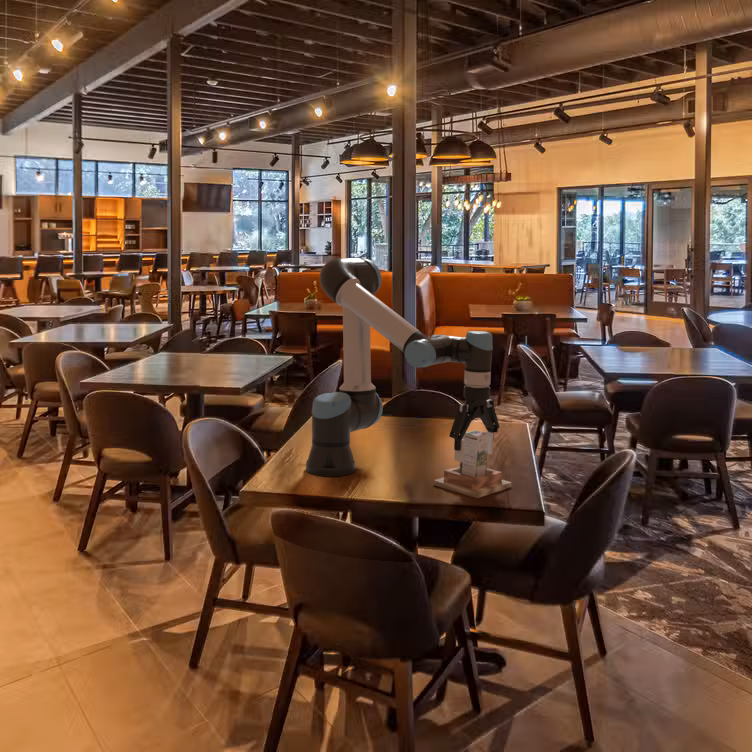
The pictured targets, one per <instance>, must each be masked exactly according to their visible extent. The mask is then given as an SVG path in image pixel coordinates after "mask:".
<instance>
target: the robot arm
mask: <svg viewBox="0 0 752 752" xmlns="http://www.w3.org/2000/svg"><path fill="white" fill-rule="evenodd" d="M318 279H319V285H320V288H321V289H322V291H323V292H324V293H325V295H326V296H327V297H328V298H329V299H330V300H331V301H333V302H334V303H335V304H337V305H338V306H339V307H342V331H343V332H342V336H343V337H342V338H343V339H342V340H343V342H342V343H343V347H342V348H343V349H342V350H343V351H342V352H343V383H342V384H341V385H340V387H339V389H338V390H339V391H335V392H334V391H332V392H330V393H329V392H325V393H321V394H319V395H317V396H316V397H315V398H314V399H313V401H312V408H311V415H312V416H311V420H312V421H311V447H310V448H311V449H310V451H309V454H308V457H307V460H306V462H305V471H306V472H307V473H309V474H311V475H314V476H320V477H342V476H348V475H351V474H353V473H354V472H355V471H356V463H355V460H354V456H353V453H352V448H351V433H353V432H355V431H359V430H366V429H368V428H370V427H371V426H374V425H376V423H378V421H379V420H380V419H381V417H382V414H383V411H384V410H383V405H384V404H383V401H382V398H381V397H379V396H380V395H379V394H378V393H377V392H376V391H377V388H376V386H375V385H374V384H373V383H372V373H371V372H372V371H371V370H372V367H371V366H372V364H371V363H372V361H371V358H372V357H371V356H372V355H371V354H372V353H371V351H372V350H371V328H372V329H374V330H375V331H376V332H378V333H379V334H380V335H381V336H382V337H384V338H385V339H386V340H388V342H391V344H393V346H395V347H397V348H398V349H399V350H400V351H401V352H403V353H404V357H405V360H406V361H407V363H408V364H409V365H410V366H411V367H413V368H427V367H430V366H433V365H439V364H445V363H456V364H457V363H460V364H464V377H463V378H464V379H463V384H464V386H463V398H464V399H465V403H464V404H462V403H459V404H458V405H457V412H456V414H455V417H454V420H453V424H452V426H451V429H450V432H449V438H452V439H453V440H454V442H453V443H454V444H453V446H454V447H453V449H454V457H453V458H454V459H453V460H454V461H456V462H458V463H460V462H463V460H464V439H462V438H463V436H464V435H465V433H466V432H468V429H469V427H470V425H471V423H472V422H474V420H475V419H477V418H480V420H481V421H482V424H483V425H484V428H485V431H484V433H487V434H489V440H488V454H487V455H493V453H494V442H495V441H494V440H495V433H498V432H499V429H500V423H499V420H498V415H497V412H496V409H495V400H493V399H491V387H490V385H491V378H492V377H491V376H492V375H491V374H492V360H493V358H492V357H493V348H494V347H493V335H492V333H491V332H488V331H484V330H480V331H479V330H470V331H467V332H466V336H465V337H463V336H462V337H461V336H453V335H445V334H433V335H431V336H430V337H428V336H427V335H425V334H424V332H421V331H420V330H419V329H418V328H416V327H415V326H414V325H412V324H411V323H410V322H409V321H407V320H406V319H405V318H404V317H403V316H401V315H400V314H399V313H397V312H396V311H394V310H393V309H392V308H391V307H389V306H388V305H386V303H384V302H383V301H381V300H380V299H379V298H378V297H376V293H378V291H379V289H380V288H381V286H382V274H381V271H380V269H379V266H378V265H377V264H376V263H375V262H374V261H372V260H371V259H367V258H363V257H350V258H349V257H347V258H346V257H343V258H342V257H341V258H340V257H339V258H333V259H330V260H328V261H327V262H325V264H324V265H323V266H322V267H321V269H320V273H319V278H318Z"/></svg>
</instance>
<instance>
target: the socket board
mask: <svg viewBox="0 0 752 752" xmlns="http://www.w3.org/2000/svg"><path fill="white" fill-rule="evenodd" d="M433 486H434V487H435V486H436V487H439V488H442V489H445V490H449V491H452V492H455V493H457V494H461V495H465V496H468V497H471V498H475V499H479V498H482V497H485V496H488V495H492V494H495V493H498V492H501V491H504V490H507V489H510V488H512V481H508V480H505V479H503V472H502V471H500V470H496V469H493V468H488V467H486V475H483V476H479V477H476V478H475V477H472V476H468V475H465V474H461V473H460V465H459V466H455V467H453V468H452V467H451V468H448V469H445V470H443V477H440V478H436V479H434V480H433Z"/></svg>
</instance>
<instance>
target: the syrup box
mask: <svg viewBox="0 0 752 752" xmlns="http://www.w3.org/2000/svg"><path fill="white" fill-rule="evenodd" d="M462 439H464V460H463V462H459V463H460V464H459V466H460V473H461V474H465V475H468V476H472V477H475V478H476V477H479V476H483V475H486V468H488V467H487V465H488V455H489V454H488V440H489V434H487V433H485V431H480V430H470V431H466V433H465V435H464V436H463V438H462Z"/></svg>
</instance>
